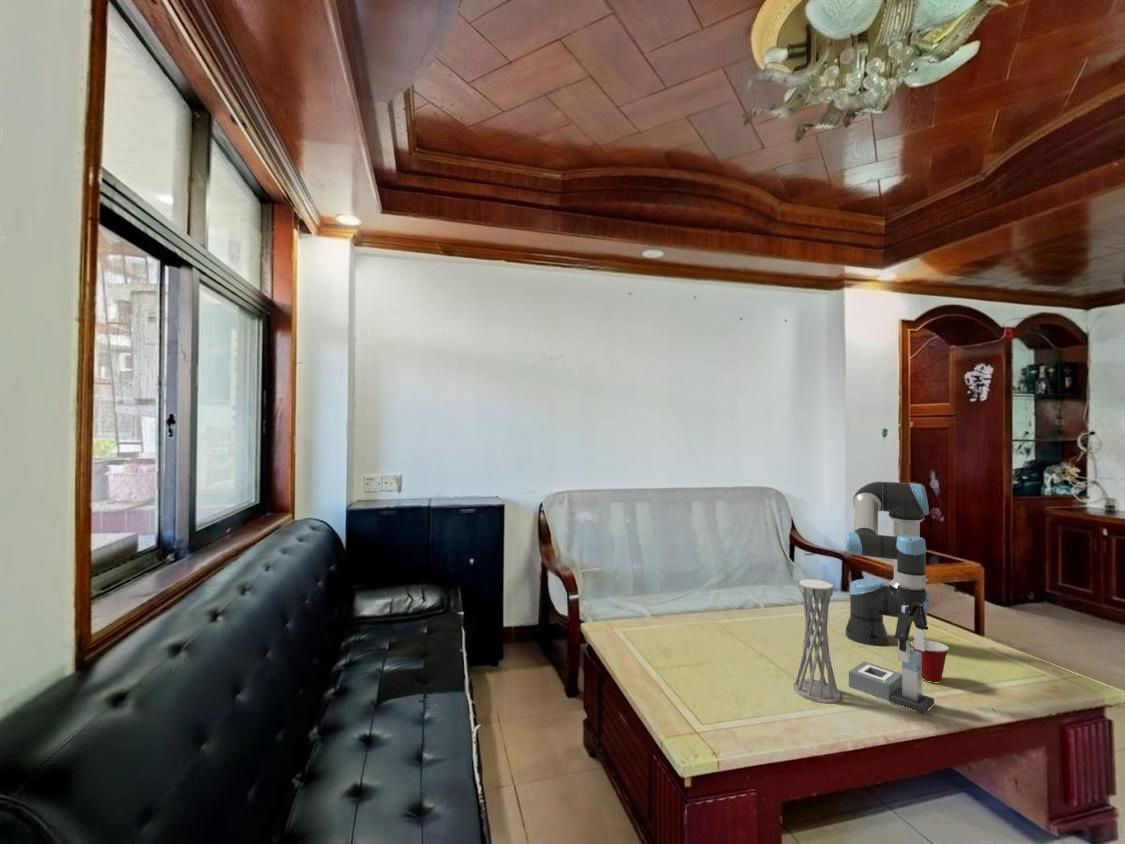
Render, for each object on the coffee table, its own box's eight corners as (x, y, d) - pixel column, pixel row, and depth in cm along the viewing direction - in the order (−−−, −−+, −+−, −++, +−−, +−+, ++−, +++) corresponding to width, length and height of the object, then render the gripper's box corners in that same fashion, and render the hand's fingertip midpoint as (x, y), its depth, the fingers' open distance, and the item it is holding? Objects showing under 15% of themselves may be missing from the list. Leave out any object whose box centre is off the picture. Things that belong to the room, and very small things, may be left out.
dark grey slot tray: (890, 702, 162) (890, 696, 162) (901, 693, 167) (901, 687, 167) (924, 715, 155) (924, 708, 155) (934, 705, 160) (934, 698, 160)
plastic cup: (928, 670, 183) (927, 636, 183) (957, 685, 173) (957, 648, 173) (902, 673, 181) (902, 639, 181) (931, 688, 170) (930, 652, 171)
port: (848, 686, 172) (848, 670, 172) (863, 675, 179) (863, 660, 179) (889, 701, 162) (889, 684, 162) (903, 689, 170) (903, 673, 170)
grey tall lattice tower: (838, 707, 159) (837, 592, 159) (790, 695, 166) (790, 585, 166) (841, 688, 170) (840, 581, 171) (797, 678, 177) (796, 575, 178)
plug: (902, 700, 161) (902, 651, 161) (907, 695, 164) (906, 648, 164) (917, 705, 158) (916, 656, 158) (921, 701, 161) (921, 652, 161)
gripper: (910, 597, 151) (911, 670, 150) (938, 582, 166) (939, 649, 166) (882, 590, 157) (882, 661, 156) (911, 577, 172) (912, 641, 172)
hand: (911, 655), depth 161 cm, fingers open, 13 cm apart
